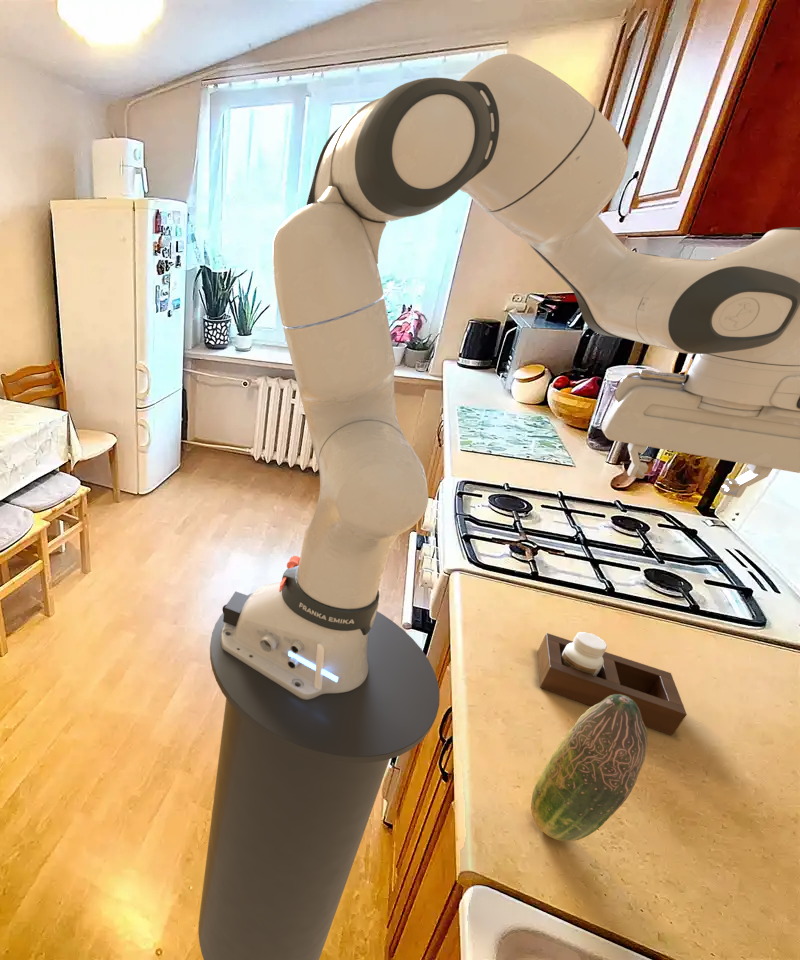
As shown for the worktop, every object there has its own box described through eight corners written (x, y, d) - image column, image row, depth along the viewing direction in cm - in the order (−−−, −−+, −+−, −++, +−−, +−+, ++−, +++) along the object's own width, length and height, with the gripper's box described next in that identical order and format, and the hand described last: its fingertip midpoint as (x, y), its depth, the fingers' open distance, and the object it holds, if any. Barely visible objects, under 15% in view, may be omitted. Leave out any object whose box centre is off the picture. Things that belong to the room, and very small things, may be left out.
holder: (672, 735, 67) (687, 714, 65) (539, 687, 74) (550, 667, 72) (657, 693, 73) (671, 672, 72) (536, 652, 80) (546, 632, 78)
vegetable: (521, 787, 60) (590, 662, 51) (586, 819, 57) (672, 691, 48) (519, 833, 56) (595, 704, 47) (591, 869, 53) (687, 739, 44)
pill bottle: (548, 678, 75) (568, 638, 72) (557, 664, 78) (577, 624, 74) (584, 698, 72) (607, 657, 69) (592, 681, 75) (615, 641, 71)
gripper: (630, 372, 63) (585, 473, 70) (877, 403, 54) (800, 517, 60) (621, 362, 68) (580, 458, 74) (846, 389, 59) (777, 495, 65)
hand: (680, 484), depth 67 cm, fingers open, 8 cm apart
